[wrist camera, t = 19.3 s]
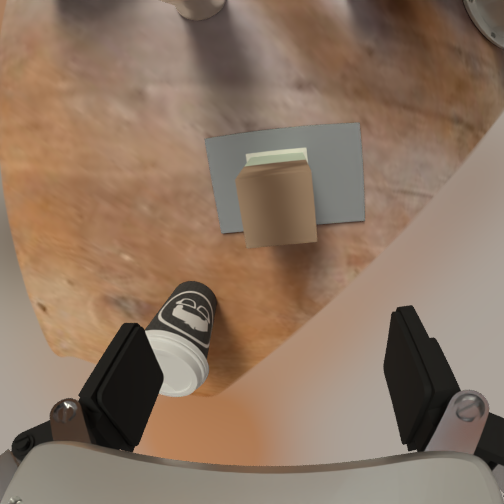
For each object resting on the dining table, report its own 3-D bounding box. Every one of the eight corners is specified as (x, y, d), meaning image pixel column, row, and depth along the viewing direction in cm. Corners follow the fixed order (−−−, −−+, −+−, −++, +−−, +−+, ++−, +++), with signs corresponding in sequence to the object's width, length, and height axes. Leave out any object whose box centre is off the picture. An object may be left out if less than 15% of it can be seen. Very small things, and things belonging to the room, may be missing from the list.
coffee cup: (155, 276, 44) (109, 343, 31) (216, 266, 42) (187, 340, 29) (176, 328, 48) (144, 399, 34) (234, 322, 46) (216, 401, 33)
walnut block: (305, 159, 29) (311, 171, 24) (311, 218, 31) (317, 241, 26) (244, 166, 30) (234, 179, 24) (253, 223, 32) (246, 248, 27)
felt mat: (358, 122, 33) (359, 122, 32) (363, 219, 37) (364, 220, 37) (205, 138, 35) (204, 139, 35) (222, 232, 40) (221, 233, 40)
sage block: (302, 152, 34) (306, 160, 29) (307, 201, 37) (311, 218, 31) (250, 157, 35) (244, 166, 30) (257, 206, 38) (252, 223, 32)
